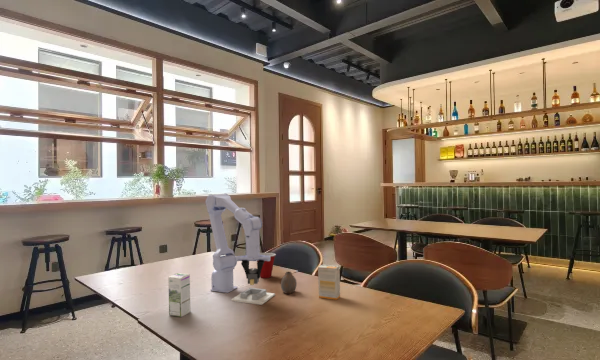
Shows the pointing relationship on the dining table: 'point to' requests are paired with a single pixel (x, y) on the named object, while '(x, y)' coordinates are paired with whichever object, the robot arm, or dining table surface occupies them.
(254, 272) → the knob
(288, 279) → the vase
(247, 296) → the hub panel
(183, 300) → the syrup box
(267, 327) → the dining table surface
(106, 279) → the dining table surface
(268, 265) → the plastic cup
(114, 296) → the dining table surface
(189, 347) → the dining table surface
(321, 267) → the supplement box
